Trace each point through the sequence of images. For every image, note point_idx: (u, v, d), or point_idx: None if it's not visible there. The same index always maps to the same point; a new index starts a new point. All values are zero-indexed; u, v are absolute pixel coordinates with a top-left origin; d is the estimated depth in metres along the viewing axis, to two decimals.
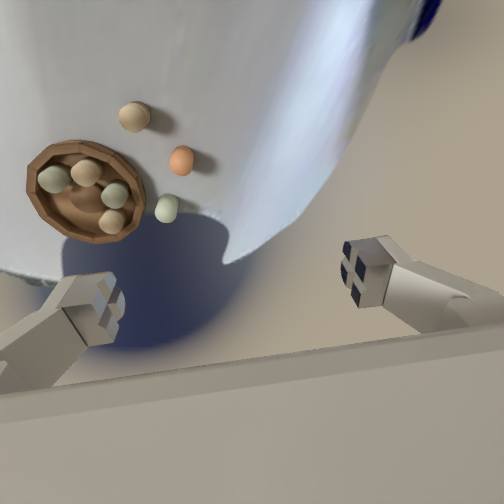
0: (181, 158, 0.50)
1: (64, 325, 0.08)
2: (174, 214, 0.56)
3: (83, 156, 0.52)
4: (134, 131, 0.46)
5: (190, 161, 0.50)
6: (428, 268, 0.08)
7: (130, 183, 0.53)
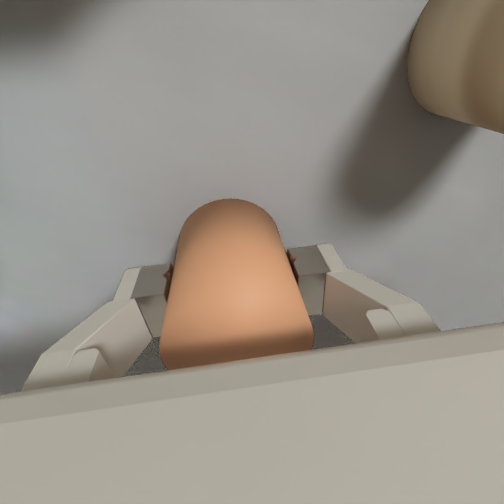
0: (279, 351, 0.08)
1: (136, 315, 0.08)
2: None
3: None
4: None
5: None
6: (358, 277, 0.08)
7: None
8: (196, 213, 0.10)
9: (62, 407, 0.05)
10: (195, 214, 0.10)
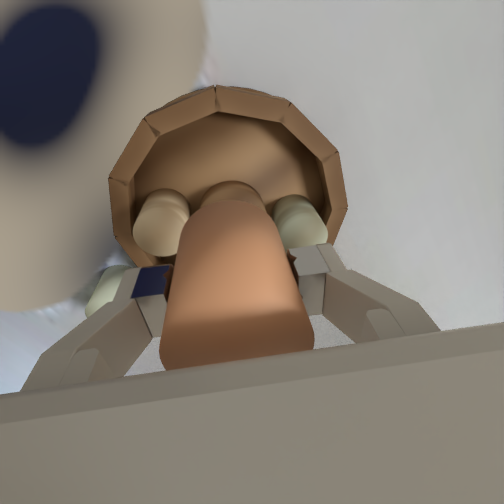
0: (280, 353, 0.08)
1: (136, 315, 0.08)
2: None
3: None
4: None
5: None
6: (358, 277, 0.08)
7: None
8: (196, 214, 0.10)
9: (62, 407, 0.05)
10: (195, 215, 0.10)
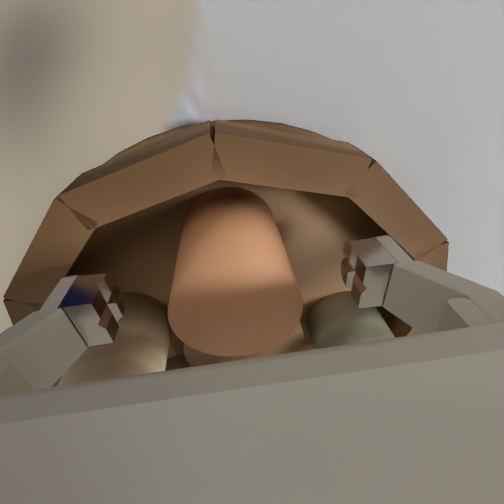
0: (273, 317, 0.09)
1: (64, 325, 0.08)
2: None
3: None
4: None
5: (254, 348, 0.10)
6: (428, 268, 0.08)
7: None
8: (198, 199, 0.11)
9: (62, 407, 0.05)
10: (197, 200, 0.11)
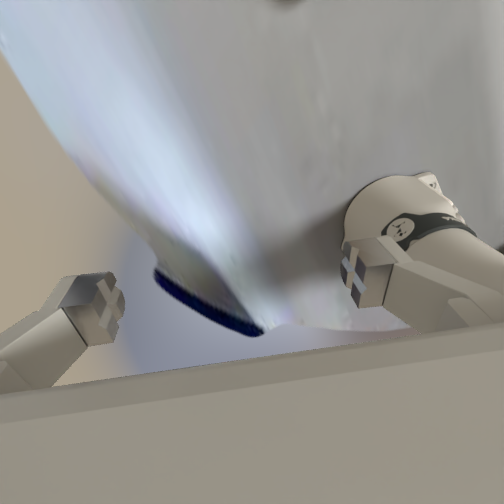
0: None
1: (64, 325, 0.08)
2: None
3: None
4: None
5: None
6: (428, 268, 0.08)
7: None
8: None
9: (62, 407, 0.05)
10: None
